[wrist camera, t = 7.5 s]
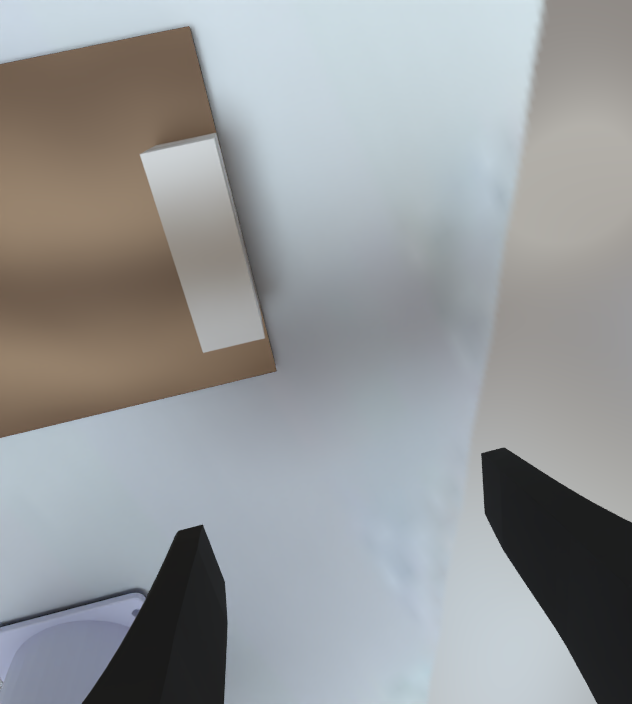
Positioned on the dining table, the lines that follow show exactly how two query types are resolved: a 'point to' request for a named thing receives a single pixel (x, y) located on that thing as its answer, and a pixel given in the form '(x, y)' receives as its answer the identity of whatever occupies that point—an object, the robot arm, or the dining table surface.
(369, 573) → the dining table surface
